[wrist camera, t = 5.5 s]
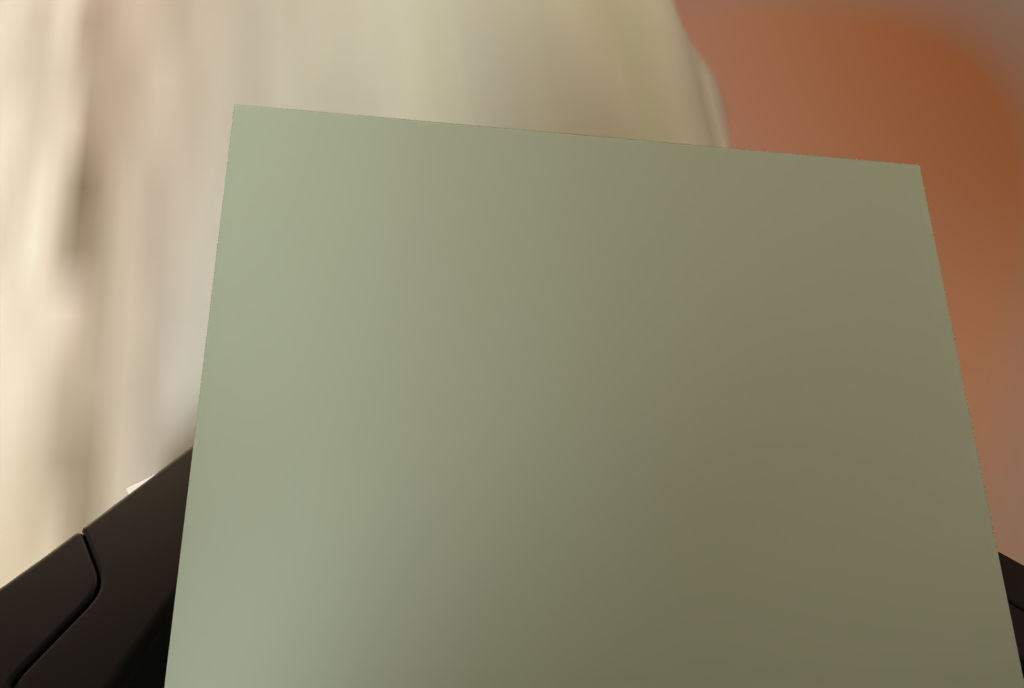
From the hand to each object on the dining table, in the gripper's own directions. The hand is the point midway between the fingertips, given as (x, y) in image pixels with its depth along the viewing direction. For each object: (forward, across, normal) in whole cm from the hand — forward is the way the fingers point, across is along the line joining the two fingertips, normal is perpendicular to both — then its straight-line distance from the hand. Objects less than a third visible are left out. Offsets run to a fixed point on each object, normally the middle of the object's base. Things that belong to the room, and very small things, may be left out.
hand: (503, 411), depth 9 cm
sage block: (+3, 0, +4) cm, 5 cm away
